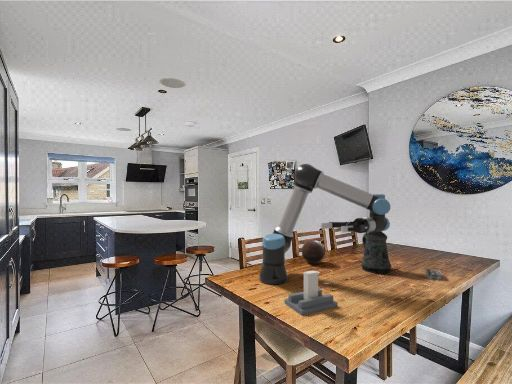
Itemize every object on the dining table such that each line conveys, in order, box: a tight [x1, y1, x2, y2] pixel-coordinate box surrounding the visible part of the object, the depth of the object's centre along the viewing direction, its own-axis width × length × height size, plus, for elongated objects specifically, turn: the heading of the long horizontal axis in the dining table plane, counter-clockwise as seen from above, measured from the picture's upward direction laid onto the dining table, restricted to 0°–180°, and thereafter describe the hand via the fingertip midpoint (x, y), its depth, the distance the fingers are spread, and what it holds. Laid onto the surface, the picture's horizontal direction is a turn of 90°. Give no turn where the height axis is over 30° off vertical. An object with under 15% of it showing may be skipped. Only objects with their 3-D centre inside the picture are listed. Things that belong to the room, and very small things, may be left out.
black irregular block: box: [360, 231, 392, 275], centre depth 161 cm, size 16×19×25 cm
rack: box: [283, 288, 339, 316], centre depth 110 cm, size 12×18×4 cm, turn 116°
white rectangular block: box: [303, 270, 319, 299], centre depth 110 cm, size 3×5×12 cm, turn 116°
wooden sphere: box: [301, 239, 326, 264], centre depth 175 cm, size 15×15×15 cm
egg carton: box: [424, 267, 442, 281], centre depth 147 cm, size 10×7×4 cm
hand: (331, 227), depth 124 cm, fingers open, 13 cm apart
